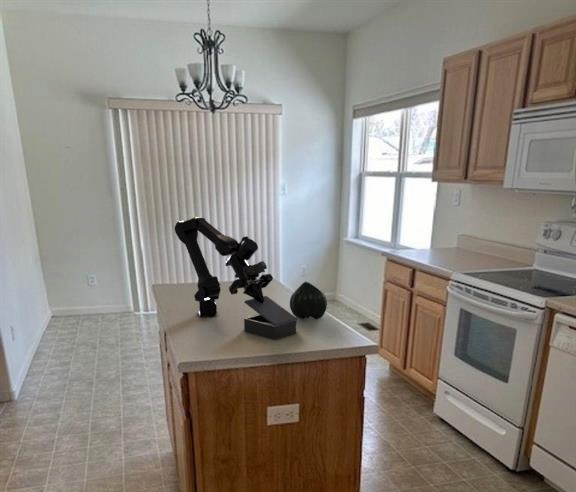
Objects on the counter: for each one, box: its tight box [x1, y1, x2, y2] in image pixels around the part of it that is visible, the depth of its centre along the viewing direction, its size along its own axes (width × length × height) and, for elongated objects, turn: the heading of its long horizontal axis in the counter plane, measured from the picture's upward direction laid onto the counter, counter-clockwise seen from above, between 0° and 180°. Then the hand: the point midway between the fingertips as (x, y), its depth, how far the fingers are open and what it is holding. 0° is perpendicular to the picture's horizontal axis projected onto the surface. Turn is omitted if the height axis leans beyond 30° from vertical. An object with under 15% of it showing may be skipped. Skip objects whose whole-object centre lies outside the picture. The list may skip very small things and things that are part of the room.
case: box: [243, 314, 297, 340], centre depth 197 cm, size 16×12×5 cm
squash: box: [289, 281, 328, 320], centre depth 216 cm, size 14×15×15 cm
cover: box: [243, 295, 298, 326], centre depth 195 cm, size 16×12×1 cm
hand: (263, 302), depth 196 cm, fingers closed, pressing on cover
